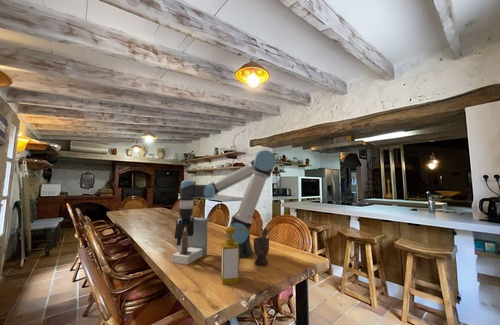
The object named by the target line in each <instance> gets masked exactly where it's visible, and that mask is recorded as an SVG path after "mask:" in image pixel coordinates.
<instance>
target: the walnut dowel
mask: <svg viewBox="0 0 500 325" xmlns="http://www.w3.org/2000/svg"><path fill="white" fill-rule="evenodd" d="M182 239H183V240H182V252H180V254H181V255H187V250H188V231H186V230H184V231H183V235H182Z"/></svg>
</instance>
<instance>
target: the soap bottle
mask: <svg viewBox="0 0 500 325" xmlns="http://www.w3.org/2000/svg"><path fill="white" fill-rule="evenodd" d="M236 229H246V228H234V227H229V226H228V227H226V228H224V231H225V232H226V235H227V234H229V238H228V237H226V239H225V240H226V242H221V266H220V267H221V271H220V272H221V273H220V275H221V278H220V279H221V285H230V284H231V285H232V284H239V283H240V258H239V245H238V243H237V242H234V238H232V234H234V232H235V230H236ZM246 230H249V229H246Z"/></svg>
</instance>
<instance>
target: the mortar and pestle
mask: <svg viewBox="0 0 500 325" xmlns="http://www.w3.org/2000/svg"><path fill="white" fill-rule="evenodd" d="M268 234H269V229H268V228H263V229H262V234H261V236H259V237H258V236H257V237H254V238H253V250H254V254H255V255H256V257H257V258H256V259H255V260H254V264H255V266H262V267H265V266H267V265H269V261H268V259H267V258H266V257H267V255H268V253H269V250H270V239H269V237H267V236H268Z"/></svg>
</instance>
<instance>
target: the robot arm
mask: <svg viewBox="0 0 500 325" xmlns="http://www.w3.org/2000/svg"><path fill="white" fill-rule="evenodd" d="M276 163H277V159H276V156H275V155H274V153H273V152H272V151H270V150H267V149H264V150H260V151H258V153H256V154H255V156H254V159H252V160H251V161H249V164H247V165H245V166H243V167H241V168H239V169H236V170H235V171H232V172H231V173H229V174H227V175H225V176H223V177H220V178H219V179H216V180H215V181H212V182H211V183H208V184H196V183H195V181H193V180H182V181H181V183H180V189H179V193H180V194H179V210H178V215H179V216H180V217H179V219H175V230H174V239H175V240H176V252H182V240H183V239H182V235H183V231H188V248H190V243H191V236H193V234H194V224H193V221H194V217H195V216H193V217H192V215H193V213H194V209H193V207H194V198H195V199H196V198H198V199H214V197H215V195H217V194H219V193H220V192H222V191H224V190H227V189H229V188H230V187H232V186H235V185H237V184H239V183H241V182H242V181H246V180H247V179H249V181H248V184H247V186H246V189H245V192H244V194H243V197H242V199H241V202H240V205H239V207H238V210H237V213H235V214H233V216H231V218H230V219H231V221H230V223H229V226H228V227H234V228H246V229H249V230H246V229H236V230H235V232H234V234H232V238H234V242H237V243H238V245H239V259H241V258H242V259H243V258H249V257H250V256H252V255H253V254H254V253H253V250H254V248H253V247H252V243H251V228H252V226H253V224H254V222H253V220H252V218H253V216H254V213H255V210H256V208H257V205H258V202H259V200H260V197H261V194H262V191H263V190H264V186H265V184H266V181H267V179H269V178H271V175H272V173H273V170H274V167H275V166H276ZM185 229H186V230H185ZM191 231H192V232H191ZM226 238H229V234H227V233H226Z"/></svg>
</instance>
